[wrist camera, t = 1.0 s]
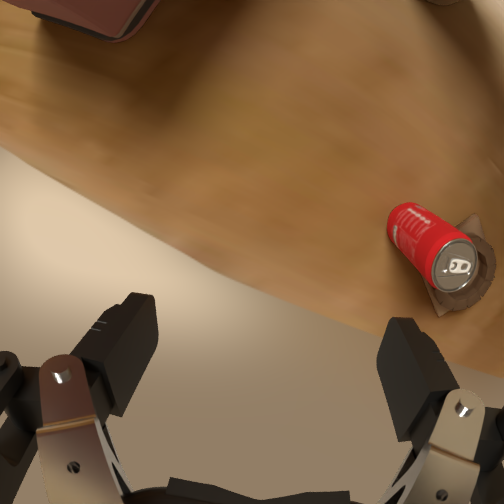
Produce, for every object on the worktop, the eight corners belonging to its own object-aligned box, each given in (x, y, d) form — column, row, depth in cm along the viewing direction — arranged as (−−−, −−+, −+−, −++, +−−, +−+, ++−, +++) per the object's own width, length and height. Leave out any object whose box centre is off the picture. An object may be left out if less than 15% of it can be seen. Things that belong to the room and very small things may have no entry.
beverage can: (388, 197, 31) (438, 232, 20) (428, 203, 31) (486, 239, 20) (380, 241, 33) (421, 293, 22) (419, 246, 33) (469, 296, 22)
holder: (474, 213, 31) (487, 220, 28) (491, 274, 33) (502, 284, 31) (412, 255, 33) (422, 266, 31) (436, 313, 36) (444, 325, 33)
